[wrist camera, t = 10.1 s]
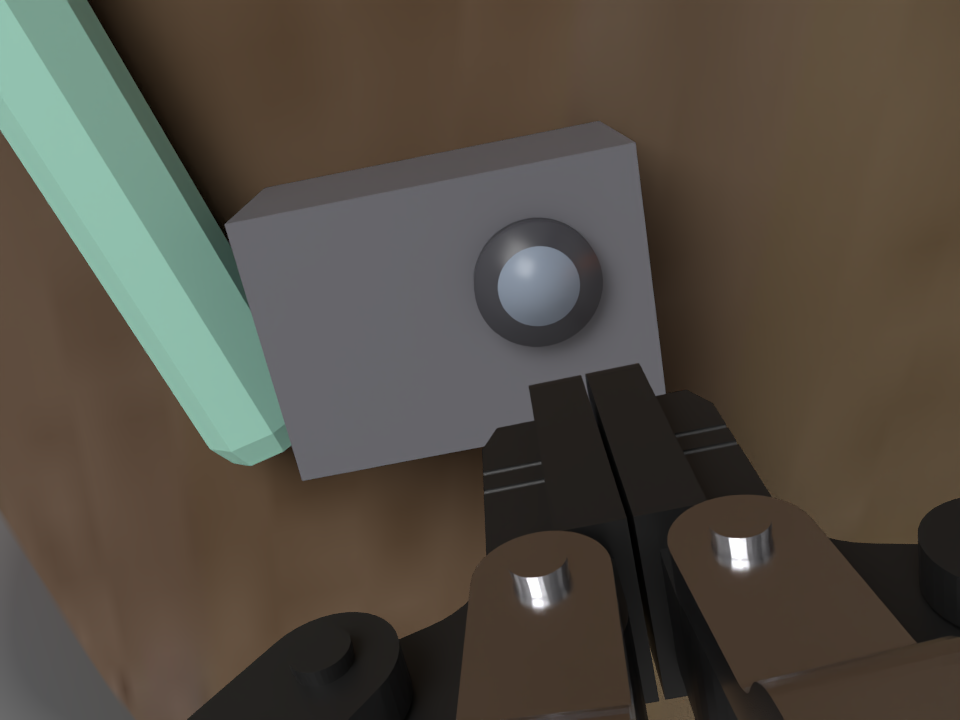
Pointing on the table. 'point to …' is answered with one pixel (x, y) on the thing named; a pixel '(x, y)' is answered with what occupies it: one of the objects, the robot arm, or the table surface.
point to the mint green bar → (136, 219)
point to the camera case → (446, 292)
